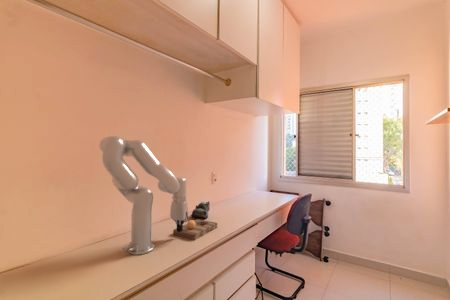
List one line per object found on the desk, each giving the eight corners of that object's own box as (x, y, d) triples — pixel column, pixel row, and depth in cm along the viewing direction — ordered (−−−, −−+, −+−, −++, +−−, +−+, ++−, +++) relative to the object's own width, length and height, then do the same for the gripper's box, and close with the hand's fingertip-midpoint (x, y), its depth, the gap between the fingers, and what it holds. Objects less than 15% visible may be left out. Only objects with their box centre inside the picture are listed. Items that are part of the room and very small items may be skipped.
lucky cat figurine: (188, 216, 171) (194, 198, 177) (202, 220, 174) (208, 203, 180) (194, 215, 158) (200, 196, 164) (209, 220, 161) (214, 202, 167)
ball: (192, 230, 132) (192, 222, 132) (185, 229, 134) (185, 220, 134) (197, 228, 136) (197, 219, 136) (190, 226, 139) (190, 218, 139)
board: (194, 240, 125) (194, 234, 125) (173, 234, 133) (173, 229, 133) (217, 227, 146) (217, 222, 146) (197, 223, 154) (197, 219, 154)
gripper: (165, 199, 129) (165, 230, 129) (185, 202, 121) (185, 235, 121) (174, 196, 135) (174, 226, 135) (193, 199, 128) (194, 231, 128)
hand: (179, 231), depth 128 cm, fingers closed
